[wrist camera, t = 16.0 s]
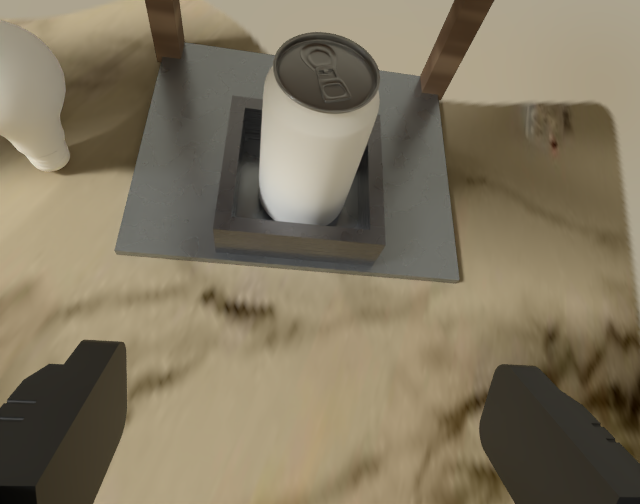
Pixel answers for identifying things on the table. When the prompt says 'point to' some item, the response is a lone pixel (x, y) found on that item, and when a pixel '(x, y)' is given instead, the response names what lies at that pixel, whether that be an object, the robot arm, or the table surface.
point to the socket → (243, 179)
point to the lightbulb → (31, 98)
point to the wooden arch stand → (435, 76)
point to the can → (315, 126)
